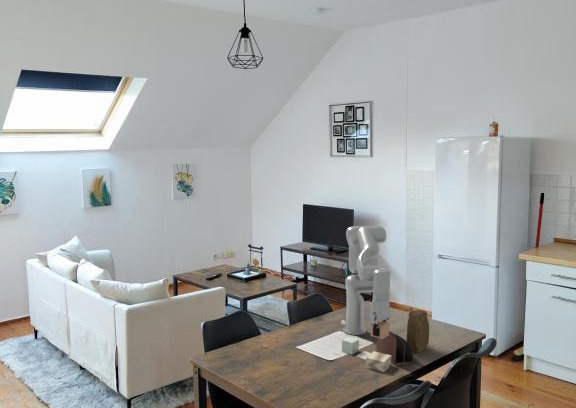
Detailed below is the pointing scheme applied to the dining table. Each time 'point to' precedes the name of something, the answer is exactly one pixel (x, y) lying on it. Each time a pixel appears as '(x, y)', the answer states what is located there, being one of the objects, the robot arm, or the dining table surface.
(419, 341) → the block
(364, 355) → the card
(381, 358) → the birch block
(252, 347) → the dining table surface
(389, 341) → the letter holder
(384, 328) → the terracotta cube
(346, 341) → the sage cube
